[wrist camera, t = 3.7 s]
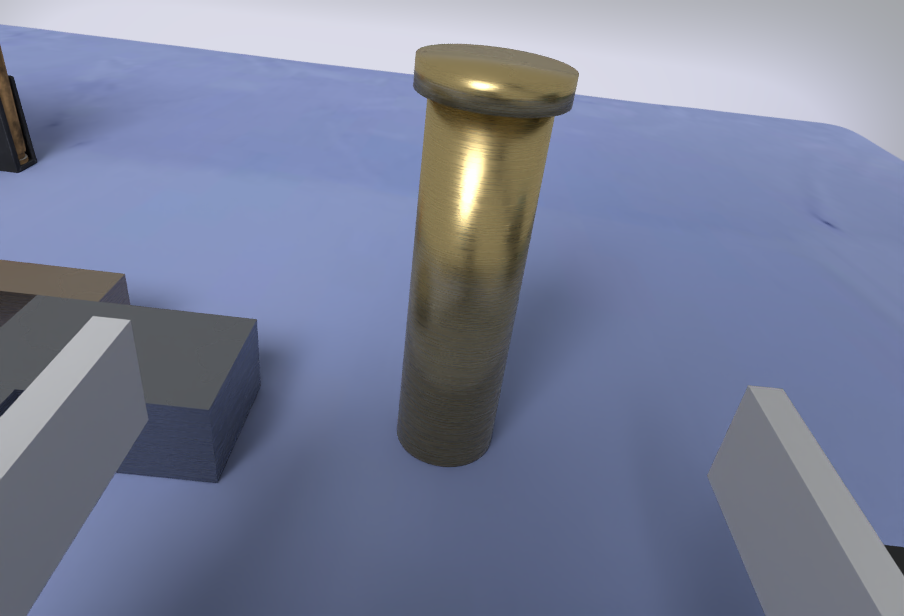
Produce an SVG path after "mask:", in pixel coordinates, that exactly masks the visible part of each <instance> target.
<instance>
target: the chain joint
mask: <svg viewBox="0 0 904 616" xmlns="http://www.w3.org/2000/svg"><path fill="white" fill-rule="evenodd" d="M93 316H97V317H106V318H116V319H125V320H131V326H132V331H133V337H134V342H135V348H136V353H137V359H138V365H139V370H140V376H141V381H142V387H143V392H144V398H145V404H146V409H147V415H148V421H147V423H146V425H145V426H144V428H143V429H142V431H141V433H140V434H139V436H138V438H137V439H136V441H135V442H134V444H133V446H132V447H131V449H130V450H129V452H128V454H127V455H126V457H125V458H124V460H123V462H122V463H121V465H120V466H119V468H118V470H117V471H116V472H118V473H128V474H138V475H147V476H157V477H167V478H176V479H186V480H196V481H206V482H215V483H217V482H218V480H219V477H220V475H221V473H222V471H223V469H224V466H225V464H226V462H227V460H228V457H229V455H230V453H231V451H232V448H233V446H234V444H235V442H236V440H237V437H238V435H239V433H240V431H241V428H242V426H243V424H244V422H245V419H246V417H247V415H248V413H249V411H250V408H251V406H252V404H253V402H254V399H255V397H256V395H257V393H258V390H259V388H260V386H261V385H260V367H259V349H258V331H257V319H249V318H240V317H231V316H222V315H213V314H204V313H195V312H186V311H177V310H168V309H159V308H150V307H141V306H132V305H130V300H129V295H128V289H127V283H126V278H125V274H121V273H112V272H103V271H95V270H86V269H77V268H68V267H59V266H50V265H42V264H33V263H24V262H15V261H6V260H0V417H1V416H2V415H3V414H4V413H5V412H6V411H7V410H8V408H9V407H10V406H11V405H12V404H13V403H14V402H15V401H16V400H17V399H18V397H19V396H20V395H21V394H22V393H23V392H24V391H25V390H26V389H27V388H28V387H29V385H30V384H31V383H32V382H33V381H34V380H35V379H36V378H37V377H38V376H39V375H40V373H41V372H42V371H43V370H44V369H45V368H46V367H47V366H48V365H49V364H50V362H51V361H52V360H53V359H54V358H55V357H56V356H57V355H58V354H59V353H60V352H61V350H62V349H63V348H64V347H65V346H66V345H67V344H68V343H69V342H70V341H71V340H72V338H73V337H74V336H75V335H76V334H77V333H78V332H79V331H80V330H81V329H82V328H83V326H84V325H85V324H86V323H87V322H88V321H89V320H90V319H91V318H92V317H93Z"/></svg>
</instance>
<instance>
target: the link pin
mask: <svg viewBox="0 0 904 616" xmlns="http://www.w3.org/2000/svg"><path fill="white" fill-rule="evenodd" d="M578 77H579V73H578V71H577V70H576V69H574V68H573V67H571V66H569V65H567V64H565V63H563V62H560V61H558V60H555V59H552V58H548V57H545V56H541V55H537V54H533V53H528V52H524V51H519V50H513V49H507V48H500V47H492V46H484V45H471V44H438V45H430V46H425V47H422V48H420V49H418V50H417V51H416V57H415V70H414V82H413V87H414V89H415V90H416V91H417V92H418V93H419V94H420V95H422V96H424V97H425V98H427V108H426V119H425V130H424V141H423V152H422V163H421V174H420V184H419V195H418V206H417V217H416V228H415V239H414V250H413V261H412V272H411V282H410V293H409V304H408V315H407V326H406V337H405V348H404V359H403V370H402V380H401V391H400V402H399V413H398V424H397V435H398V438H399V441H400V443H401V444H402V446H403V447H404V448H405V450H406V451H407V452H408V453H410V454H411V455H412V456H414V457H415V458H417V459H419V460H421V461H423V462H426V463H428V464H432V465H436V466H443V467H455V466H462V465H466V464H469V463H471V462H473V461H475V460H477V459H479V458H480V457H481V456H482V455H483V454H484V453H485V452H486V451H487V449H488V447H489V445H490V441H491V436H492V431H493V426H494V421H495V416H496V411H497V406H498V401H499V396H500V391H501V386H502V381H503V375H504V370H505V365H506V360H507V355H508V350H509V345H510V340H511V335H512V330H513V325H514V320H515V315H516V310H517V304H518V299H519V294H520V289H521V284H522V279H523V274H524V269H525V264H526V259H527V254H528V249H529V244H530V239H531V233H532V228H533V223H534V218H535V213H536V208H537V203H538V198H539V193H540V188H541V183H542V178H543V173H544V168H545V162H546V157H547V152H548V147H549V142H550V137H551V132H552V127H553V122H554V117H555V116H558V115H562V114H565V113H567V112H569V111H570V110H571V109H572V105H573V101H574V96H575V91H576V86H577V81H578Z"/></svg>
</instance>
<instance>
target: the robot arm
mask: <svg viewBox="0 0 904 616" xmlns="http://www.w3.org/2000/svg"><path fill="white" fill-rule="evenodd" d="M147 421H148V415H147V409H146V404H145V398H144V392H143V387H142V381H141V376H140V370H139V365H138V359H137V353H136V348H135V342H134V337H133V331H132V326H131V320H125V319H116V318H106V317H97V316H93V317H92V318H91V319H90V320H89V321H88V322H87V323H86V324H85V325H84V326H83V328H82V329H81V330H80V331H79V332H78V333H77V334H76V335H75V336H74V337H73V338H72V340H71V341H70V342H69V343H68V344H67V345H66V346H65V347H64V348H63V349H62V350H61V352H60V353H59V354H58V355H57V356H56V357H55V358H54V359H53V360H52V361H51V362H50V364H49V365H48V366H47V367H46V368H45V369H44V370H43V371H42V372H41V373H40V375H39V376H38V377H37V378H36V379H35V380H34V381H33V382H32V383H31V384H30V385H29V387H28V388H27V389H26V390H25V391H24V392H23V393H22V394H21V395H20V396H19V397H18V399H17V400H16V401H15V402H14V403H13V404H12V405H11V406H10V407H9V408H8V410H7V411H6V412H5V413H4V414H3V415H2V416H1V417H0V616H27V614H28V613H29V611H30V609H31V608H32V606H33V605H34V603H35V601H36V600H37V598H38V597H39V595H40V593H41V592H42V590H43V588H44V587H45V585H46V584H47V582H48V580H49V579H50V577H51V576H52V574H53V572H54V571H55V569H56V568H57V566H58V564H59V563H60V561H61V560H62V558H63V556H64V555H65V553H66V552H67V550H68V548H69V547H70V545H71V544H72V542H73V540H74V539H75V537H76V535H77V534H78V532H79V531H80V529H81V527H82V526H83V524H84V523H85V521H86V519H87V518H88V516H89V515H90V513H91V511H92V510H93V508H94V507H95V505H96V503H97V502H98V500H99V499H100V497H101V495H102V494H103V492H104V491H105V489H106V487H107V486H108V484H109V482H110V481H111V479H112V478H113V476H114V474H115V473H116V471H117V470H118V468H119V466H120V465H121V463H122V462H123V460H124V458H125V457H126V455H127V454H128V452H129V450H130V449H131V447H132V446H133V444H134V442H135V441H136V439H137V438H138V436H139V434H140V433H141V431H142V429H143V428H144V426H145V425H146V423H147ZM707 477H708V479H709V481H710V484H711V486H712V489H713V491H714V493H715V496H716V498H717V501H718V503H719V505H720V508H721V510H722V513H723V515H724V517H725V520H726V522H727V525H728V527H729V529H730V532H731V534H732V537H733V539H734V541H735V544H736V546H737V549H738V551H739V553H740V556H741V558H742V561H743V563H744V565H745V568H746V570H747V573H748V575H749V577H750V580H751V582H752V585H753V587H754V589H755V592H756V594H757V597H758V599H759V601H760V604H761V606H762V609H763V611H764V613H765V616H904V547H898V546H888V545H883V543H882V542H881V540H880V538H879V537H878V535H877V534H876V532H875V531H874V529H873V528H872V526H871V525H870V523H869V521H868V520H867V518H866V517H865V515H864V514H863V512H862V511H861V509H860V508H859V506H858V504H857V503H856V501H855V500H854V498H853V497H852V495H851V494H850V492H849V491H848V489H847V487H846V486H845V484H844V483H843V481H842V480H841V478H840V477H839V475H838V474H837V472H836V470H835V469H834V467H833V466H832V464H831V463H830V461H829V460H828V458H827V457H826V455H825V453H824V452H823V450H822V449H821V447H820V446H819V444H818V443H817V441H816V440H815V438H814V436H813V435H812V433H811V432H810V430H809V429H808V427H807V426H806V424H805V423H804V421H803V419H802V418H801V416H800V415H799V413H798V412H797V410H796V409H795V407H794V406H793V404H792V402H791V401H790V399H789V398H788V396H787V395H786V393H785V392H784V390H783V389H778V388H768V387H759V386H749V385H748V387H747V389H746V391H745V394H744V396H743V398H742V400H741V402H740V405H739V407H738V409H737V411H736V413H735V416H734V418H733V420H732V422H731V424H730V427H729V429H728V431H727V433H726V435H725V438H724V440H723V442H722V444H721V446H720V449H719V451H718V453H717V455H716V457H715V459H714V462H713V464H712V466H711V468H710V470H709V473H708V475H707Z"/></svg>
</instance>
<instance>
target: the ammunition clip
mask: <svg viewBox="0 0 904 616" xmlns="http://www.w3.org/2000/svg"><path fill="white" fill-rule="evenodd" d="M35 163H37V159H36V156H35V152H34V149H33V145H32V142H31V138H30V135H29V131H28V128H27V124H26V120H25V117H24V113H23V109H22V106H21V102H20V99H19V95H18V91H17V88H16V84H15V80H14V77H13V76H9V75H8V74H7V70H6V66H5V62H4V58H3V54H2V50H1V46H0V171H7V172H14V173H18V172H20V171H22V170H24V169H26V168H27V167H29V166H31V165H33V164H35Z"/></svg>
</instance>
